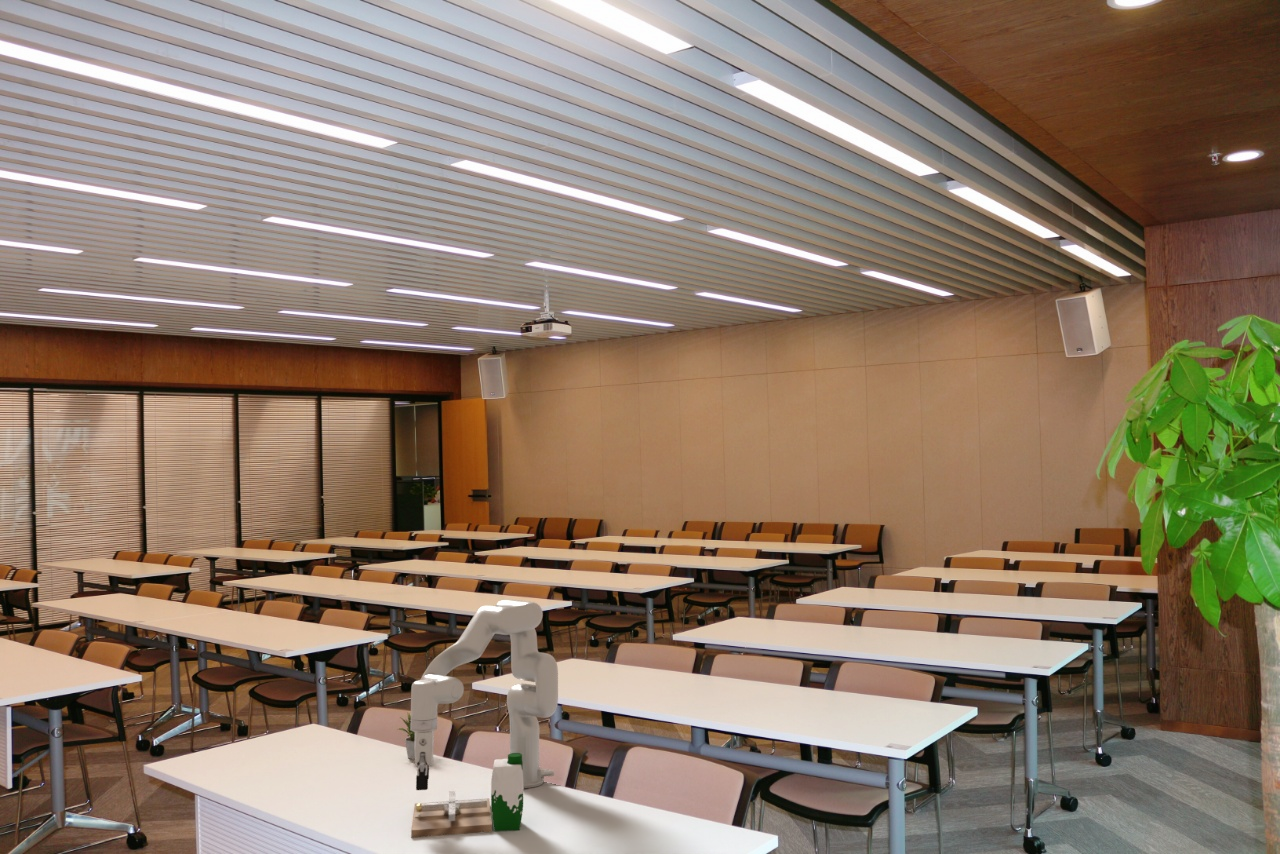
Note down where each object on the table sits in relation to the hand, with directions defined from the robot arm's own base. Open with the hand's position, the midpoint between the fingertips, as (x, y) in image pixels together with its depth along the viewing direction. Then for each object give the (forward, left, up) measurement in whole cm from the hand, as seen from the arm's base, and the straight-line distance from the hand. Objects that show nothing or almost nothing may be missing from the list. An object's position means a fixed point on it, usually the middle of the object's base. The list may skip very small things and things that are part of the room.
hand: (422, 784), depth 275 cm
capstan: (-8, 0, -9) cm, 12 cm away
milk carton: (-24, +8, -11) cm, 27 cm away
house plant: (+5, -66, -11) cm, 68 cm away
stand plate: (-8, 0, -11) cm, 14 cm away
